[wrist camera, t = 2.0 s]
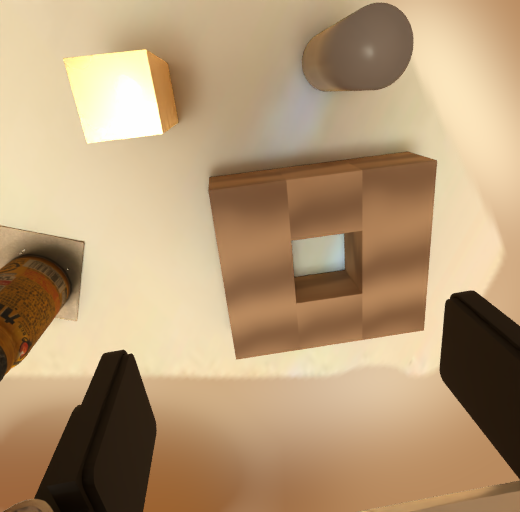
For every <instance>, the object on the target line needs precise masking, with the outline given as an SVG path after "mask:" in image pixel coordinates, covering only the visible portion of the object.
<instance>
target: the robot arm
mask: <svg viewBox="0 0 520 512" xmlns="http://www.w3.org/2000/svg"><path fill="white" fill-rule="evenodd" d="M440 374H441V377H442V380H443V381H444V383H445V384H446V385H447V387H448V388H449V389H450V390H451V392H452V393H453V394H454V396H455V397H456V398H457V399H458V401H459V402H460V403H461V405H462V406H463V407H464V408H465V410H466V411H467V412H468V413H469V415H470V416H471V417H472V419H473V420H474V421H475V422H476V424H477V425H478V426H479V428H480V429H481V430H482V432H483V433H484V434H485V435H486V437H487V438H488V439H489V440H490V442H491V443H492V444H493V446H494V447H495V448H496V449H497V450H498V452H499V453H500V455H501V456H502V457H503V458H504V460H505V461H506V462H507V464H508V465H509V466H510V467H511V469H512V470H513V471H514V473H515V474H516V475H517V476H518V478H519V479H520V326H519V325H518V324H516V323H515V322H514V321H513V320H511V319H510V318H509V317H507V316H506V315H505V314H504V313H502V312H501V311H500V310H498V309H497V308H496V307H495V306H493V305H492V304H491V303H489V302H488V301H487V300H486V299H484V298H483V297H482V296H480V295H479V294H478V293H477V292H475V291H465V292H459V293H454V294H452V295H451V297H450V299H448V300H447V301H446V303H445V313H444V324H443V336H442V347H441V359H440ZM155 438H156V421H155V418H154V415H153V412H152V409H151V406H150V403H149V400H148V397H147V394H146V391H145V388H144V385H143V382H142V379H141V376H140V373H139V370H138V367H137V364H136V361H135V358H134V355H133V354H127V352H126V351H125V350H120V351H114V352H108V353H104V354H103V355H102V357H101V359H100V362H99V364H98V366H97V369H96V371H95V373H94V376H93V378H92V381H91V383H90V385H89V388H88V390H87V392H86V395H85V397H84V400H83V402H82V404H81V405H78V406H77V407H75V409H74V410H73V412H72V414H71V416H70V418H69V421H68V423H67V426H66V427H65V430H64V432H63V434H62V437H61V439H60V441H59V443H58V446H57V448H56V450H55V452H54V455H53V457H52V459H51V462H50V464H49V466H48V468H47V471H46V473H45V475H44V477H43V480H42V482H41V484H40V487H39V489H38V491H37V494H36V495H35V498H34V499H31V500H25V501H23V502H20V503H17V504H15V505H13V506H12V507H10V508H8V509H7V510H5V511H3V512H143V509H144V503H145V497H146V491H147V485H148V478H149V473H150V467H151V462H152V455H153V450H154V444H155ZM360 512H520V481H516V482H510V483H505V484H500V485H494V486H489V487H484V488H479V489H473V490H468V491H463V492H457V493H452V494H447V495H442V496H436V497H431V498H426V499H421V500H416V501H411V502H405V503H400V504H396V505H390V506H385V507H380V508H375V509H369V510H364V511H360Z"/></svg>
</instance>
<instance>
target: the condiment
mask: <svg viewBox="0 0 520 512" xmlns="http://www.w3.org/2000/svg"><path fill="white" fill-rule="evenodd" d="M83 246H84V243H82V242H78V241H74V240H69V239H65V238H59V237H55V236H50V235H45V234H39V233H36V232H29V231H23V230H19V229H14V228H7V227H2V226H0V381H1V380H2V379H3V377H4V375H5V374H6V373H8V371H9V370H10V369H11V368H13V367H15V366H16V365H18V364H19V363H20V362H21V361H22V360H23V359H24V358H25V357H26V356H27V355H28V353H29V351H30V350H31V349H32V347H33V346H34V345H35V343H36V342H37V341H38V339H39V338H40V337H41V335H42V334H43V333H44V331H45V330H46V329H47V327H48V326H49V325H50V323H51V322H52V321H53V319H54V318H60V319H66V320H73V321H77V312H78V301H79V293H80V292H79V291H80V278H81V269H82V258H83ZM23 249H25V251H24V252H22V250H23ZM20 252H22V254H21V255H20V254H19V253H20ZM67 268H68V270H67Z"/></svg>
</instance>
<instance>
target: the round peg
mask: <svg viewBox="0 0 520 512" xmlns="http://www.w3.org/2000/svg"><path fill="white" fill-rule="evenodd" d="M412 51H413V32H412V29H411V25H410V23H409V21H408V19H407V17H406V16H405V15H404V14H403V12H402V11H400V10H399V9H398V8H397V7H395V6H393V5H390V4H387V3H373V4H370V5H367V6H365V7H363V8H361V9H359V10H358V11H356V12H354V13H353V14H351V15H349V16H347V17H346V18H344V19H342V20H341V21H339V22H337V23H336V24H334V25H332V26H331V27H329V28H327V29H326V30H324V31H322V32H321V33H319V34H317V35H316V36H314V37H313V38H312V39H311V40H310V42H309V43H308V44H307V46H306V48H305V50H304V53H303V58H302V68H303V73H304V75H305V78H306V79H307V81H308V82H309V83H310V84H311V85H312V86H313V87H314V88H316V89H318V90H321V91H361V90H378V89H382V88H385V87H387V86H389V85H391V84H392V83H394V82H395V81H396V80H397V79H398V78H399V77H400V76H401V75H402V74H403V72H404V71H405V69H406V67H407V66H408V64H409V61H410V59H411V55H412Z"/></svg>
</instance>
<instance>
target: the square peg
mask: <svg viewBox="0 0 520 512" xmlns="http://www.w3.org/2000/svg"><path fill="white" fill-rule="evenodd" d="M63 59H64V63H65V67H66V70H67V74H68V77H69V81H70V84H71V88H72V92H73V95H74V99H75V102H76V106H77V109H78V113H79V116H80V120H81V124H82V127H83V131H84V134H85V138H86V141H87V143H92V142H100V141H109V140H117V139H125V138H133V137H141V136H149V135H158V134H163V133H165V132H166V131H168V130H169V129H170V128H172V127H173V126H174V125H176V124H177V123H179V122H178V116H177V111H176V105H175V100H174V94H173V89H172V83H171V78H170V73H169V67H168V63H167V62H165V61H163V60H162V59H160V58H159V57H157V56H156V55H154V54H153V53H151V52H149V51H148V50H146V49H144V50H135V51H126V52H117V53H108V54H99V55H90V56H81V57H72V58H63Z"/></svg>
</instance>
